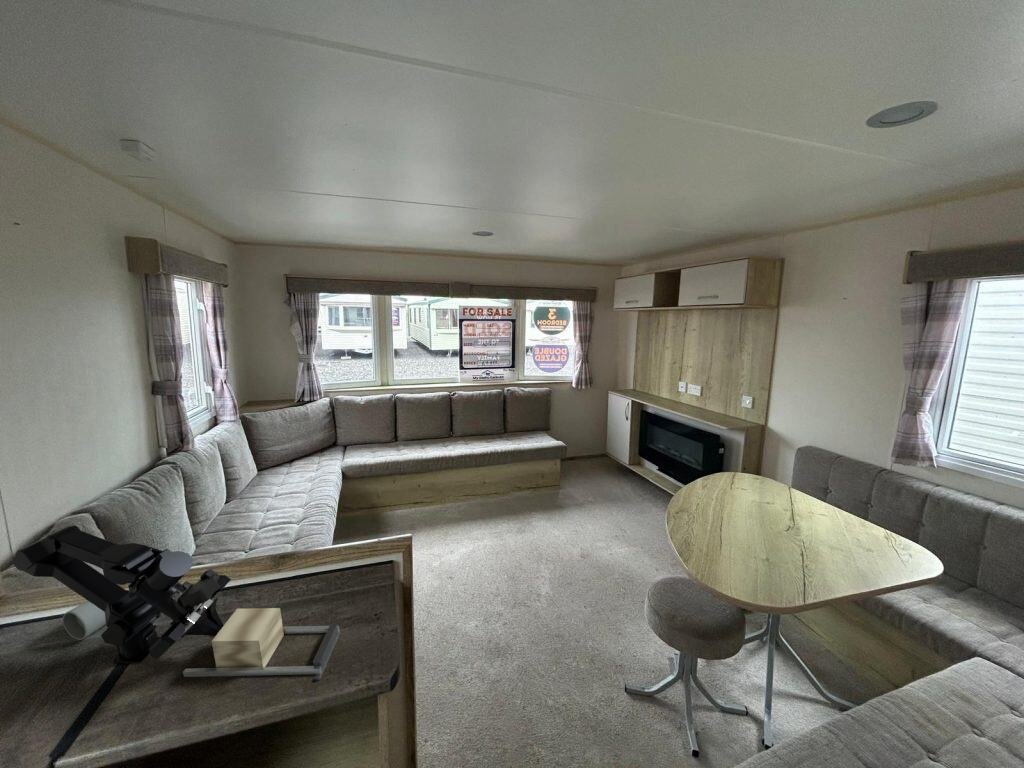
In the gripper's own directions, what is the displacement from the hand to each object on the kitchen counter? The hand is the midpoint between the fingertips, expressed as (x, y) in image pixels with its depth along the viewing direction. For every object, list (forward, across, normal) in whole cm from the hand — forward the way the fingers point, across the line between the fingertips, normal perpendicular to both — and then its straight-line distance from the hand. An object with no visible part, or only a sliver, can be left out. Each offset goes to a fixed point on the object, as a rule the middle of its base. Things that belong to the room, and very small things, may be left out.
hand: (224, 634), depth 92 cm
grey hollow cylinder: (-23, +9, +33) cm, 41 cm away
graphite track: (+11, 0, -1) cm, 11 cm away
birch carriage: (+8, 0, 0) cm, 8 cm away
